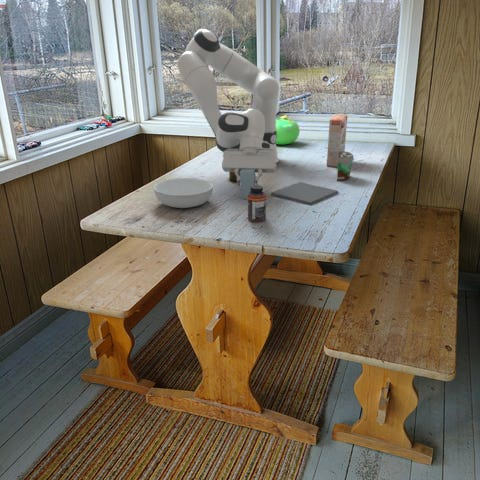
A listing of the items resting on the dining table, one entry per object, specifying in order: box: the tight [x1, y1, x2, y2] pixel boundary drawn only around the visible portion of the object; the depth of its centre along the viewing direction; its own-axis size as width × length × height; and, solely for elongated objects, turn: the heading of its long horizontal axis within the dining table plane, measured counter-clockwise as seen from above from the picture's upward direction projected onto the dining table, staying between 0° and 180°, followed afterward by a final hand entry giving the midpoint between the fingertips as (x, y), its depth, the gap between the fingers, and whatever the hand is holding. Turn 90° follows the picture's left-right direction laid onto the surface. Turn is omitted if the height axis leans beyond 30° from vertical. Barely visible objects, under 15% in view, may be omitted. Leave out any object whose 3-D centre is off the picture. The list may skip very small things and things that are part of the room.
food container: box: [336, 151, 355, 182], centre depth 207 cm, size 12×6×10 cm, turn 168°
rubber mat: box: [270, 181, 339, 206], centre depth 190 cm, size 18×18×1 cm
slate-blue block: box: [239, 169, 257, 200], centre depth 186 cm, size 5×5×10 cm
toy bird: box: [276, 114, 300, 146], centre depth 267 cm, size 18×17×15 cm
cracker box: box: [326, 114, 348, 168], centre depth 227 cm, size 14×6×21 cm, turn 160°
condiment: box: [225, 172, 240, 184], centre depth 206 cm, size 7×8×12 cm
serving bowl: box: [153, 177, 214, 209], centre depth 181 cm, size 21×21×7 cm
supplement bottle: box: [247, 184, 267, 223], centre depth 164 cm, size 6×6×11 cm
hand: (247, 181), depth 185 cm, fingers closed on slate-blue block, 5 cm apart
